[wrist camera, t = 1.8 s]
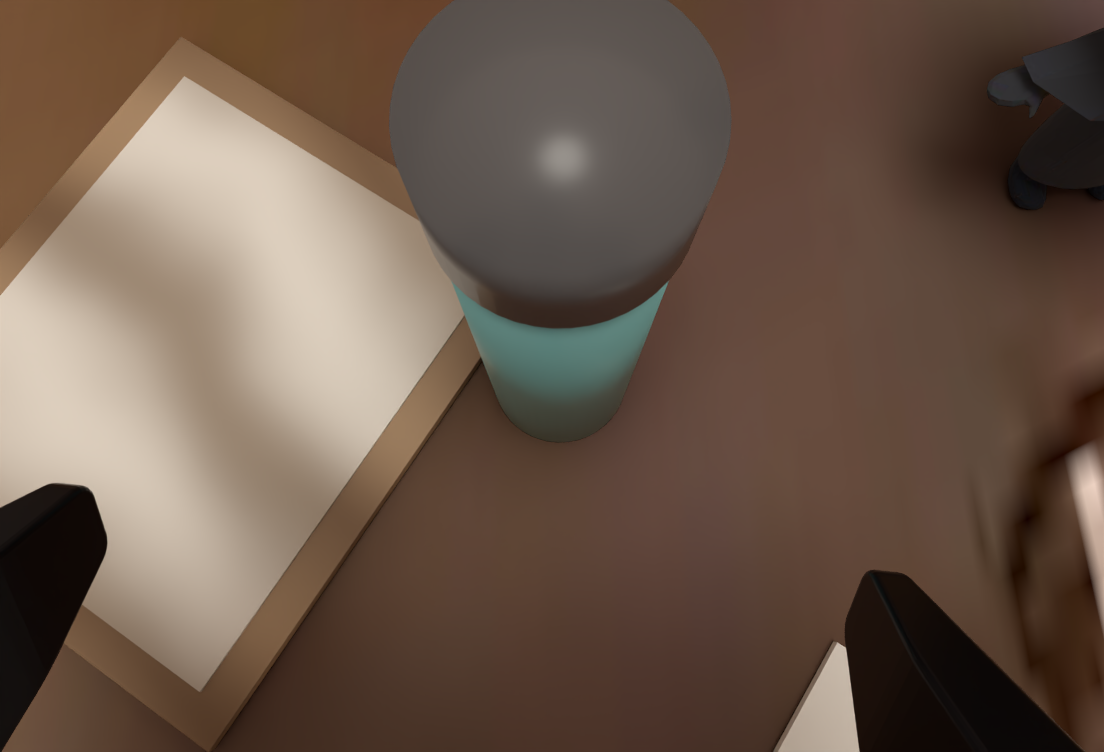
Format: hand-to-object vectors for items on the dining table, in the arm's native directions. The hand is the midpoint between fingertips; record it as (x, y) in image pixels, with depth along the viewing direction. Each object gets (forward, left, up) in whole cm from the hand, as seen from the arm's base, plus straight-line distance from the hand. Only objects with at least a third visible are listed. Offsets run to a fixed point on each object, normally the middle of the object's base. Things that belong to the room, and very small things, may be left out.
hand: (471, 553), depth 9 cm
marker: (+5, +2, -11) cm, 12 cm away
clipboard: (0, +10, -11) cm, 15 cm away
